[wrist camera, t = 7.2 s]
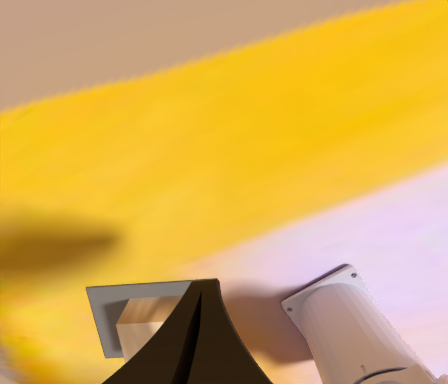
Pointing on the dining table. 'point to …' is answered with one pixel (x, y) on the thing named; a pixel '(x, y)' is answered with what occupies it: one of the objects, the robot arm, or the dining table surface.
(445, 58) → the dining table surface
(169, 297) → the birch block
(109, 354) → the grey panel
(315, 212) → the dining table surface
